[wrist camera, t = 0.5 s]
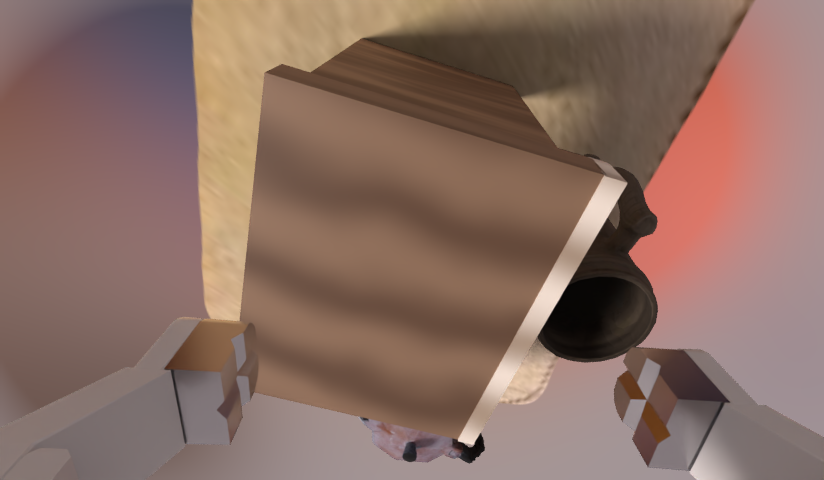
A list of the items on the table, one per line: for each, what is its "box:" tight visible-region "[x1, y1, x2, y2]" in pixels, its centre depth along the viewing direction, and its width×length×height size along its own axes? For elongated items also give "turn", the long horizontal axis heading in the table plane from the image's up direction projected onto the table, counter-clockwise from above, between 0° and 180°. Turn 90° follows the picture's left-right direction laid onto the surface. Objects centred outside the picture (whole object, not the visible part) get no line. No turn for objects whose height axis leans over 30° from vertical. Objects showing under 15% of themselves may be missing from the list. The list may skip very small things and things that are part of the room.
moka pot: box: [358, 416, 485, 463], centre depth 53 cm, size 10×15×20 cm, turn 71°
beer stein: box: [537, 154, 658, 362], centre depth 42 cm, size 15×11×20 cm
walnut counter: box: [240, 39, 627, 445], centre depth 37 cm, size 22×18×27 cm
